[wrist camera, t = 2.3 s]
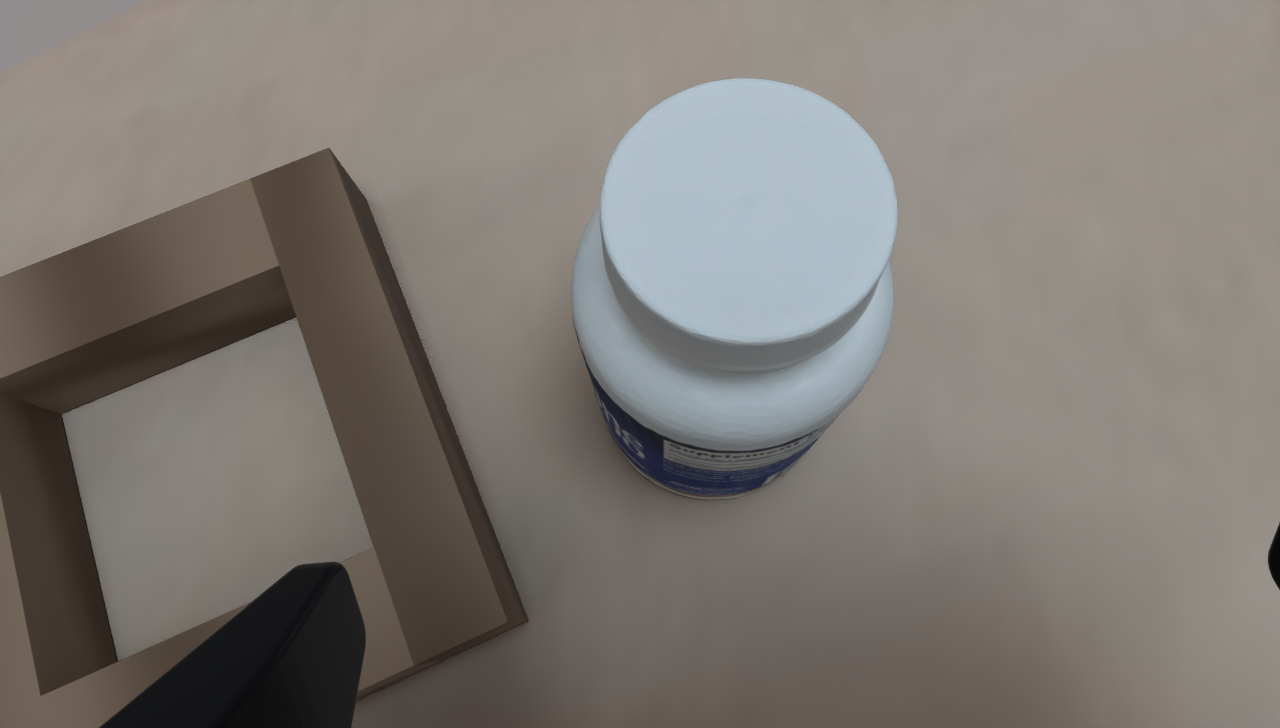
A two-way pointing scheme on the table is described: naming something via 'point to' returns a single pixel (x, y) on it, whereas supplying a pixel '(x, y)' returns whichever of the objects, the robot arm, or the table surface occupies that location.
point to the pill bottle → (734, 282)
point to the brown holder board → (188, 328)
